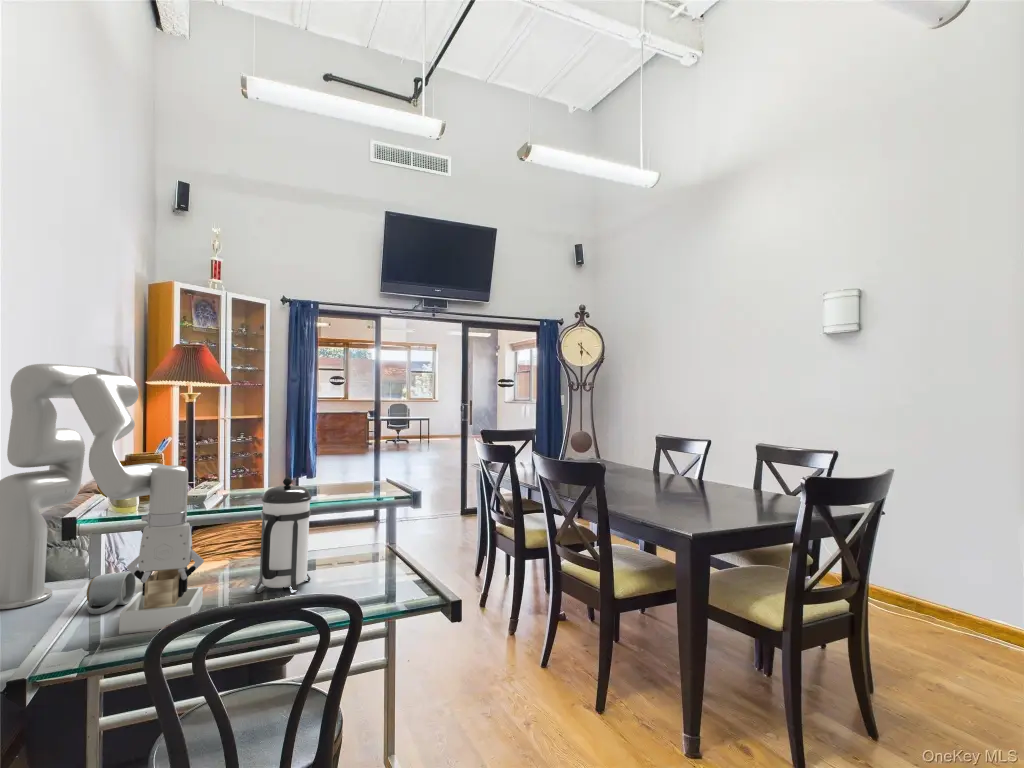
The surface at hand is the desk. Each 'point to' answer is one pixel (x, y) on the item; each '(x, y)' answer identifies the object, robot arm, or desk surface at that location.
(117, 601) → the ceramic mug
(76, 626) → the desk surface
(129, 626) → the grey crate
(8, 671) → the desk surface
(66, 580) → the desk surface
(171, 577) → the birch crate
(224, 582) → the desk surface
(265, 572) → the coffee press
